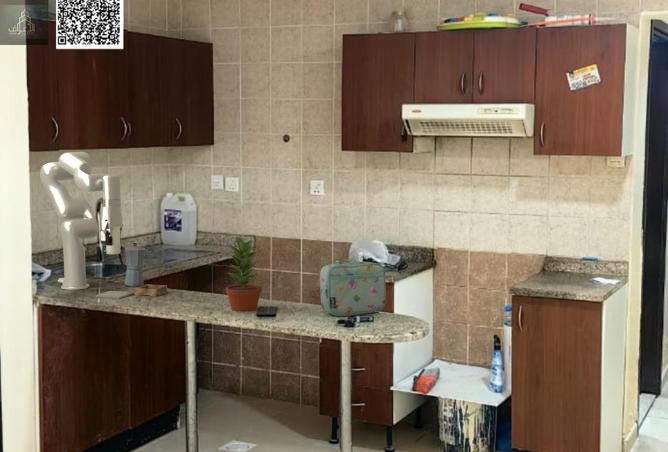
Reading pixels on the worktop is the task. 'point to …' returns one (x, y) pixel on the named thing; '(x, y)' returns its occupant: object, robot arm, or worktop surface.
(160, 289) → the holder
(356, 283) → the lunch box
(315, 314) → the worktop surface
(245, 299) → the potted plant
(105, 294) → the plate
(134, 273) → the moka pot
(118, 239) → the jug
